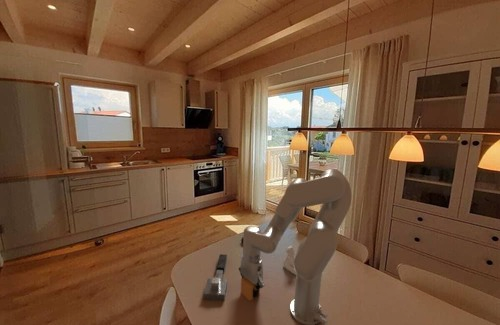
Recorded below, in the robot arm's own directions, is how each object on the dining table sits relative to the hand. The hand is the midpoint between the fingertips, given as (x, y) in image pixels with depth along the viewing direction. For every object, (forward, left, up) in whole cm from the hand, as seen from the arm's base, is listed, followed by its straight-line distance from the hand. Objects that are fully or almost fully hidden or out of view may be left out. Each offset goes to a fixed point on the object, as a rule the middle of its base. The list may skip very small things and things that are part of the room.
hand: (250, 291), depth 95 cm
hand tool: (+26, -30, -2) cm, 39 cm away
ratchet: (+18, +4, -1) cm, 19 cm away
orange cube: (0, 0, -1) cm, 1 cm away
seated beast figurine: (-2, -28, -1) cm, 28 cm away
